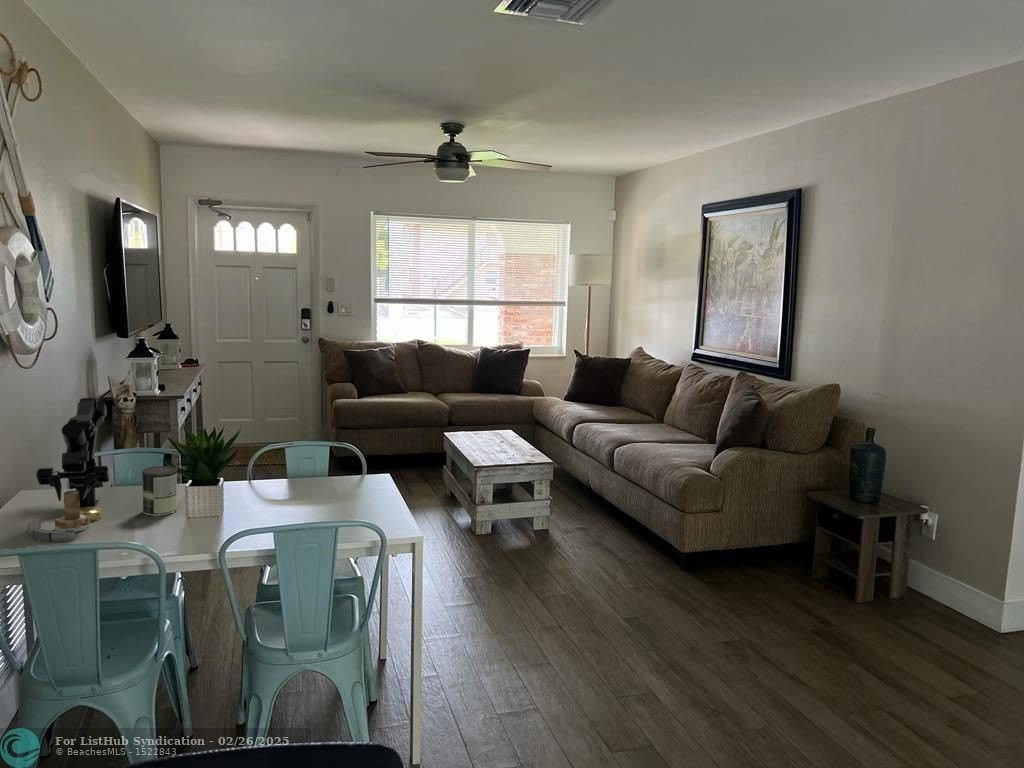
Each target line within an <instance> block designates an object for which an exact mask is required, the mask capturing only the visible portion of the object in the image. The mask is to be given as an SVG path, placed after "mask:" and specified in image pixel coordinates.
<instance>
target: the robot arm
mask: <svg viewBox="0 0 1024 768" xmlns="http://www.w3.org/2000/svg"><path fill="white" fill-rule="evenodd" d="M76 408H77V409H76V414H75V416H72V417H70V418H69V419H68V421H67V423H65V424H64V425H63V426H62V427H61V435H62V438H63V440H64V443H65V445H66V451H65V452H63V453H61V469H62V470H63V471H58V470H54V468H53V467H40V468H38V469H37V470H36V474H35V476H36V479H37V483H38V485H40V486H45V485H49V487H53V488H54V489H55V492H56V495H57V499H58V502H61V500H62V482H61V479H68V485H69V487H68V488H69V490H74V489H75V490H74V491H79V496H80V508H84V507H96V506H97V505H98V504H99V502H100V499H96V498H97V497H96V496H97V495H96V489H99V488H100V487H103V483H109V482H110V477H111V476H110V469H109V467H108V466H107V465H97V462H96V459H95V453H96V452H95V451H96V443H97V435H98V430H99V427H100V426H102V425H103V424H104V422H105V417H107V414H108V413H107V412H108V409H107V406H106V403H105V402H103V401H101V400H99V399H98V398H96V397H82V398H80V399H79V402H78V403H77V406H76Z"/></svg>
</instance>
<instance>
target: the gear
mask: <svg viewBox="0 0 1024 768" xmlns="http://www.w3.org/2000/svg"><path fill="white" fill-rule="evenodd" d="M63 507H64V508H63V509H64V515H63V516H62V517H60V518H56V519H55V520H54V527H55V526H59V529H66V528H81V527H82V526H84V525H85V524H89V523H91V522H90V519H89V517H86V516H85V514H80V508H81V507H80V496H79V491H76V490H69V491H64V492H63Z"/></svg>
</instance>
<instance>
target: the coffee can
mask: <svg viewBox="0 0 1024 768" xmlns="http://www.w3.org/2000/svg"><path fill="white" fill-rule="evenodd" d="M177 472H178V468H177V467H174V466H169V465H158V466H151V467H146V468H144V469H142V471H141V474H142V514H143V513H144V514H146V515H145V516H147V515H153V516H152V517H160V516H159V515H165V516H167V515H166V514H170V513H173V514H175V513H176V512H177V511H178V507H177V506H178V504H177V503H178V502H177V499H178V497H177V496H178V493H177V492H178V491H177V489H178V488H177V487H178V485H177V483H178V481H177V480H178V479H177V478H178V476H177V475H178V473H177ZM175 511H176V512H175ZM174 512H175V513H174ZM144 514H143V515H144ZM170 515H171V514H170Z"/></svg>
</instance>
